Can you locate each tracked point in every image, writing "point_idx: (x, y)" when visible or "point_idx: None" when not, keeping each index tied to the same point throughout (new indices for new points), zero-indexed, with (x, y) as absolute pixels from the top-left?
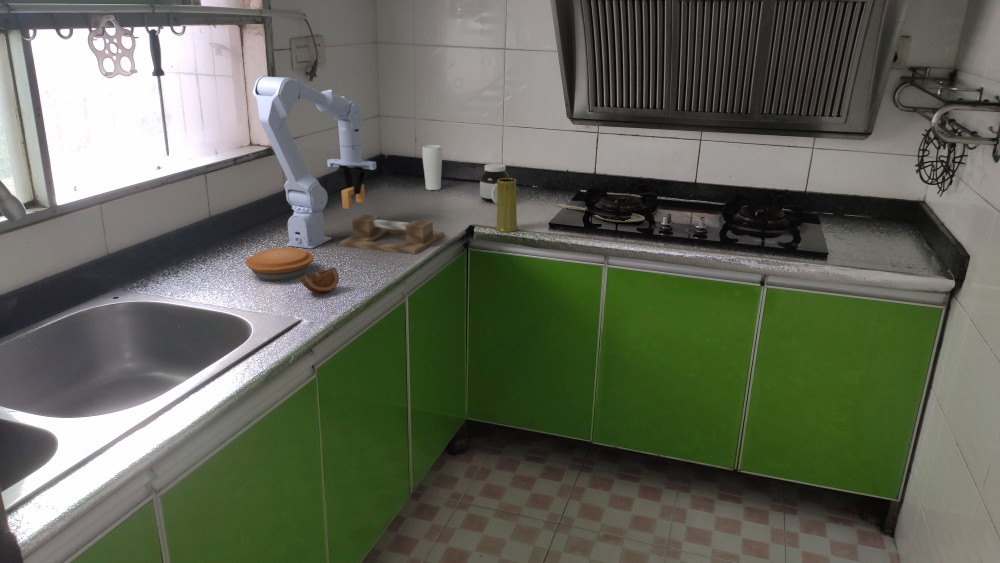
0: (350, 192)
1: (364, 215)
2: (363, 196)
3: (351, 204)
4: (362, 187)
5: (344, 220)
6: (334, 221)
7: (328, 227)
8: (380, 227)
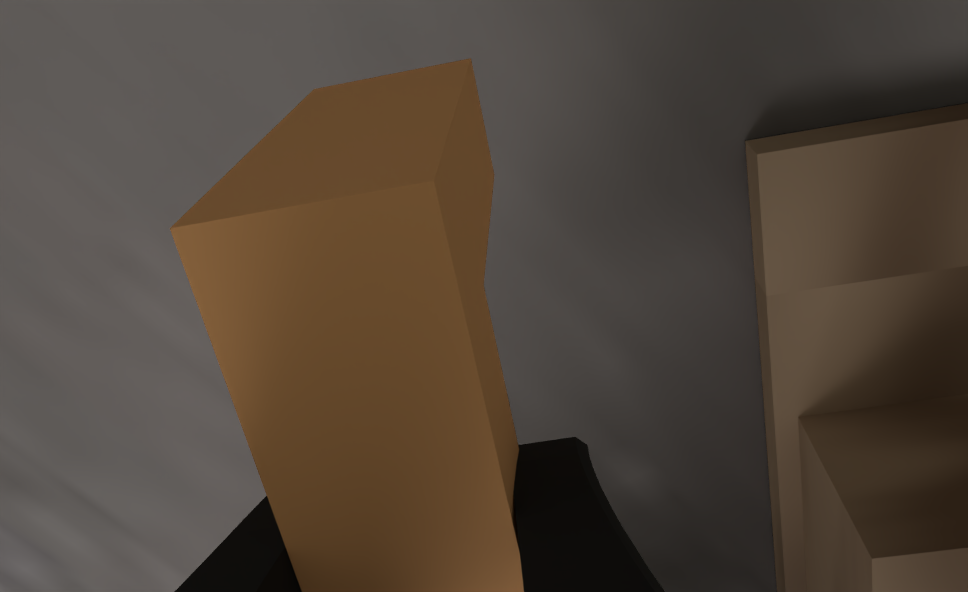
0: None
1: (910, 582)
2: (474, 153)
3: None
4: (463, 267)
5: (66, 16)
6: (5, 135)
7: (193, 383)
8: (924, 212)
